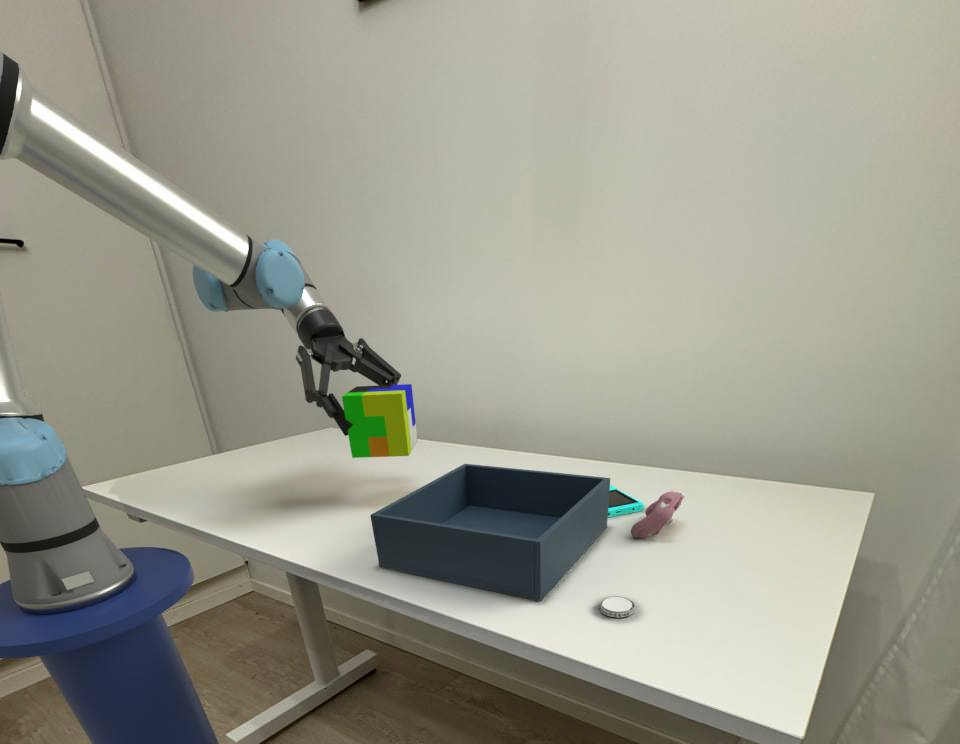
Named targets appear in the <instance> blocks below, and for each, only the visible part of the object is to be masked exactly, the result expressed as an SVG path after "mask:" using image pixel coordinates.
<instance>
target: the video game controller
mask: <svg viewBox="0 0 960 744" xmlns="http://www.w3.org/2000/svg"><path fill="white" fill-rule="evenodd" d="M684 499H685V495H683V494H682V492H679V491H674V490H673V489H671V491H667V492H665V493H663V494H661V495H660V496H659V498H658V500H656V501H654V502H652V503H651V504H650V505H648V506H647V508H645V517H643V518H641V519H640V520H638V521H637V522H635V523H634V524H633V525H632V526H631V528H630V535H631V536H632V537H633V538H635V539H639V538H641V539H642V538H646V537H649V536H651V535H653V534H656V535H658V534H659V533H660V532H661V530H662V529H663V528H664V527H665V526H666V525H668V526H672V524H674V522H675V518H673V516H674V513H675V512H676V511H677V510H678V509H679V508H680V506H681V505H682V502H683V500H684Z"/></svg>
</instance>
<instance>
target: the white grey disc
mask: <svg viewBox="0 0 960 744" xmlns="http://www.w3.org/2000/svg"><path fill="white" fill-rule="evenodd" d="M599 611H600V613H602V614H603V615H605V616H608V617H611V618H625V617H629V616H631V615H632V614H633V613H634V611H635V603H634V601H632V600H631V599H629V598H627V597H624V596H608V597H604V598H603V599H602V600H600V601H599Z"/></svg>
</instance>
